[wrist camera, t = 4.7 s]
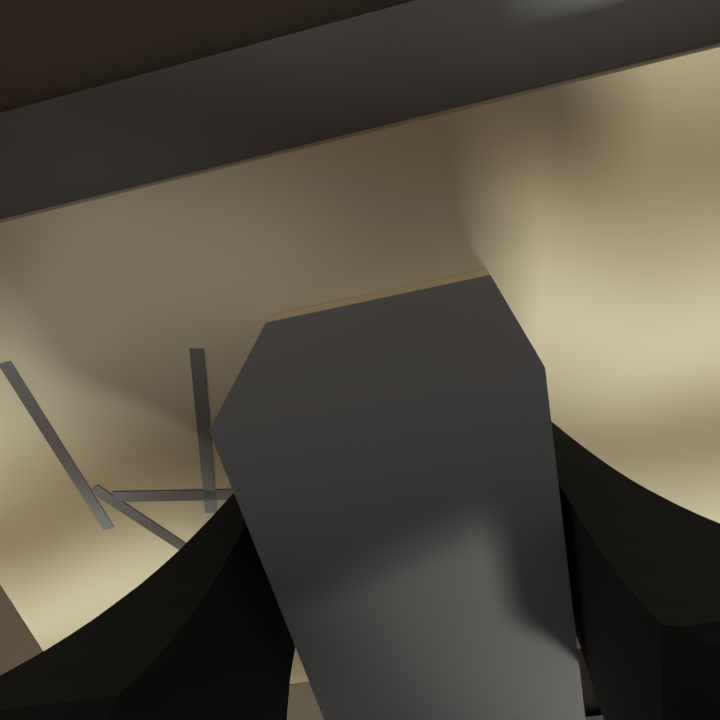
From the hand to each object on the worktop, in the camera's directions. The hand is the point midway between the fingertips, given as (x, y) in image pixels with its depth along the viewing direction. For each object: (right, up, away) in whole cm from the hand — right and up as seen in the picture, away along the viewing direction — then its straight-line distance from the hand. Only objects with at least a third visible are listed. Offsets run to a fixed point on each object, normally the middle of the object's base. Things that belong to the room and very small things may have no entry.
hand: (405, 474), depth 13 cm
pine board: (-1, +1, +3) cm, 3 cm away
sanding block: (0, 0, +1) cm, 1 cm away
